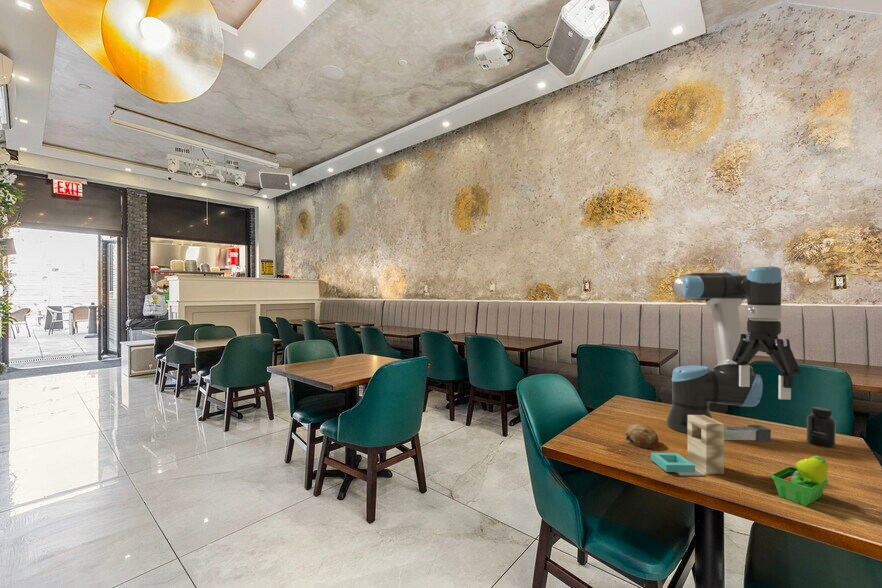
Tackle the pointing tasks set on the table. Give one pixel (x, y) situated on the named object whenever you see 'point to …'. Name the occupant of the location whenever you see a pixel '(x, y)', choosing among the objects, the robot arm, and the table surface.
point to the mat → (696, 473)
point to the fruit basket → (802, 480)
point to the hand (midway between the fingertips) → (763, 392)
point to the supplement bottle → (821, 427)
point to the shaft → (748, 433)
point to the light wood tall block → (705, 444)
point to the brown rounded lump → (641, 436)
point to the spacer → (679, 466)
